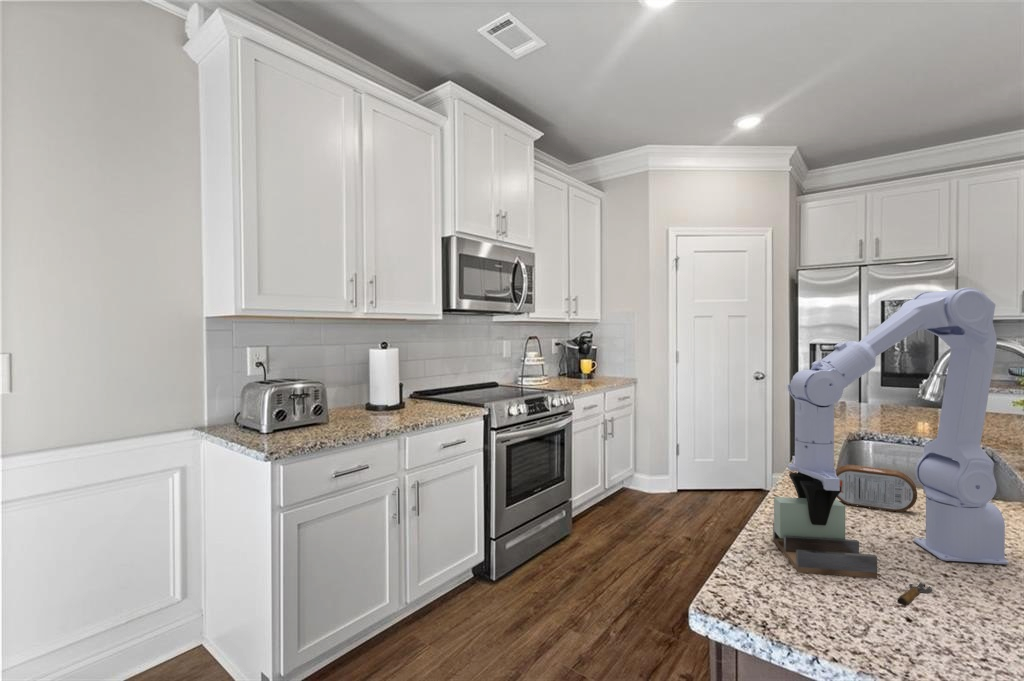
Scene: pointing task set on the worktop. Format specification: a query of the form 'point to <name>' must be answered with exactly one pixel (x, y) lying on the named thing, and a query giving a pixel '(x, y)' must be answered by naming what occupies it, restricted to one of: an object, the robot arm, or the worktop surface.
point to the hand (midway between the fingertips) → (813, 520)
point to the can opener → (913, 593)
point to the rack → (826, 556)
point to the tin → (876, 488)
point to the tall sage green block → (806, 519)
